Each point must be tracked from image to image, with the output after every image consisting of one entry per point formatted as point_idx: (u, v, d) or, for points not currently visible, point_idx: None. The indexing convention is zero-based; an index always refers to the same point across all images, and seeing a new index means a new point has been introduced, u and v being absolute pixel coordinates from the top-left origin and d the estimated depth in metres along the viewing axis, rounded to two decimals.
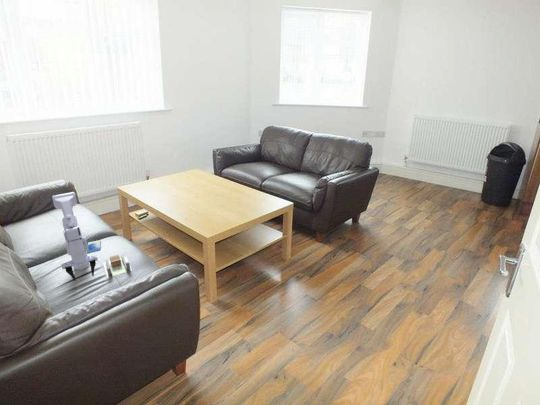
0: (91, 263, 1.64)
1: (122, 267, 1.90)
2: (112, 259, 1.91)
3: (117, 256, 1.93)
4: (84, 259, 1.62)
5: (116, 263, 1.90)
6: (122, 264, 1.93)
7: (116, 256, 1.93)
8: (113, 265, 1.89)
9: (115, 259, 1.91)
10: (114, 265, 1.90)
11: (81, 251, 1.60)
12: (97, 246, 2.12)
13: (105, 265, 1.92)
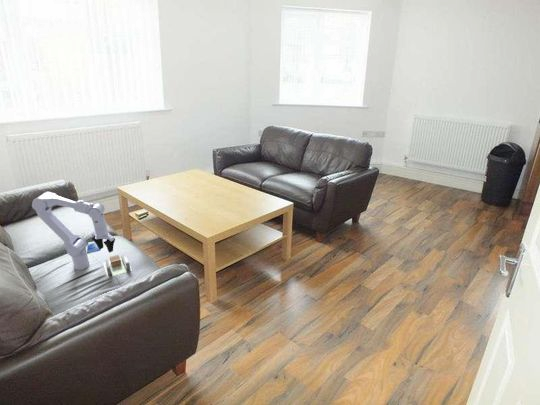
0: (105, 241, 1.82)
1: (122, 267, 1.90)
2: (112, 259, 1.91)
3: (117, 256, 1.93)
4: (101, 235, 1.82)
5: (116, 263, 1.90)
6: (122, 264, 1.93)
7: (116, 256, 1.93)
8: (113, 265, 1.89)
9: (115, 259, 1.91)
10: (114, 265, 1.90)
11: None
12: (97, 246, 2.12)
13: (105, 265, 1.92)
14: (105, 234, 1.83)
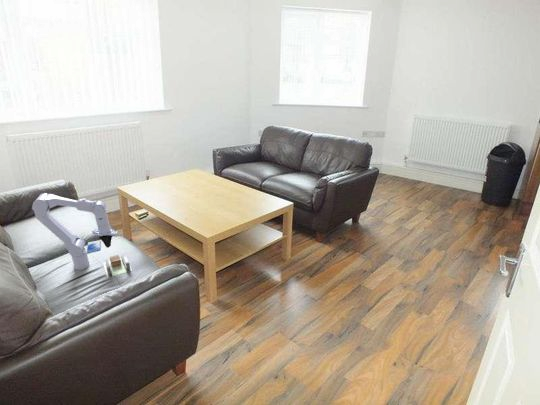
0: (104, 236, 1.87)
1: (122, 267, 1.90)
2: (112, 259, 1.91)
3: (117, 256, 1.93)
4: (105, 232, 1.86)
5: (116, 263, 1.90)
6: (122, 264, 1.93)
7: (116, 256, 1.93)
8: (113, 265, 1.89)
9: (115, 259, 1.91)
10: (114, 265, 1.90)
11: None
12: (97, 246, 2.12)
13: (105, 265, 1.92)
14: (109, 230, 1.87)
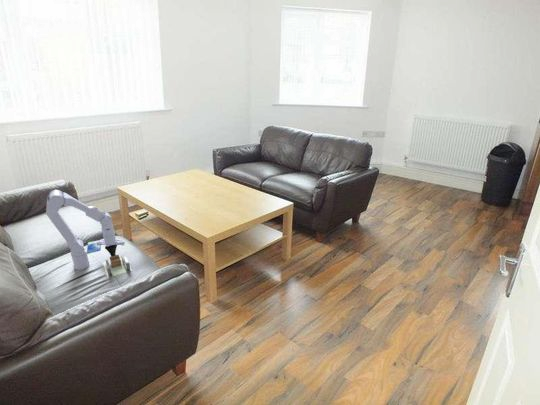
0: (111, 246, 1.94)
1: (122, 267, 1.90)
2: (112, 259, 1.91)
3: (117, 256, 1.93)
4: (112, 241, 1.93)
5: (116, 263, 1.90)
6: (122, 264, 1.93)
7: (116, 256, 1.93)
8: (113, 265, 1.89)
9: (115, 259, 1.91)
10: (114, 265, 1.90)
11: None
12: (97, 246, 2.12)
13: (105, 265, 1.92)
14: (115, 240, 1.95)
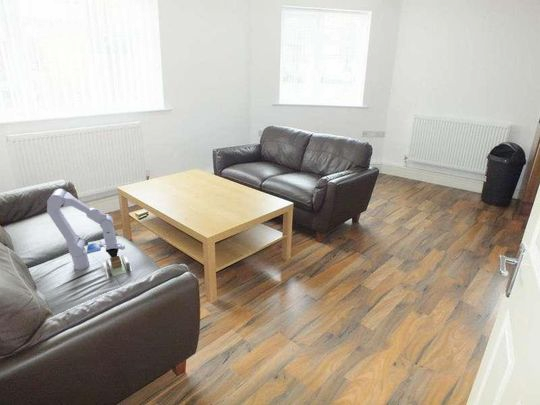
0: (111, 249, 1.91)
1: (122, 267, 1.90)
2: (112, 260, 1.90)
3: (117, 257, 1.92)
4: (112, 245, 1.90)
5: (116, 264, 1.89)
6: (122, 264, 1.93)
7: (116, 257, 1.92)
8: (113, 266, 1.88)
9: (115, 260, 1.90)
10: (114, 266, 1.89)
11: None
12: (97, 246, 2.12)
13: (105, 265, 1.92)
14: (115, 244, 1.91)
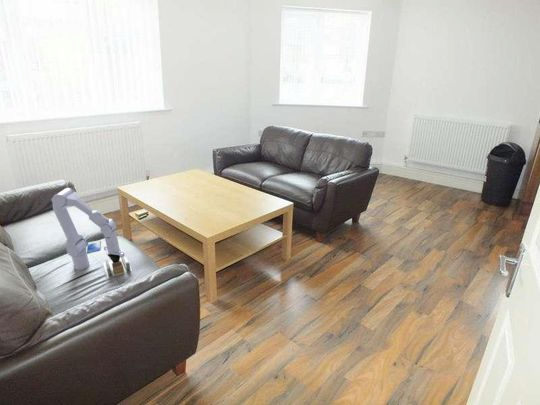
0: (112, 255, 1.86)
1: None
2: (114, 266, 1.85)
3: (120, 263, 1.87)
4: (112, 251, 1.84)
5: (119, 270, 1.84)
6: (122, 264, 1.93)
7: (118, 263, 1.87)
8: (115, 272, 1.83)
9: (118, 266, 1.85)
10: (116, 272, 1.84)
11: (117, 239, 1.86)
12: (97, 246, 2.12)
13: (105, 265, 1.92)
14: (116, 250, 1.85)
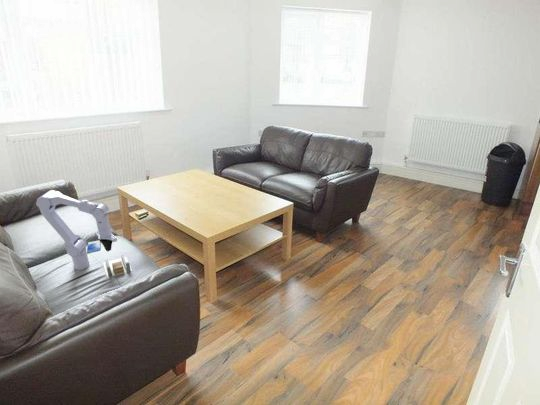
0: (104, 240, 1.84)
1: None
2: (114, 266, 1.85)
3: (120, 263, 1.87)
4: (104, 235, 1.82)
5: (119, 270, 1.84)
6: (122, 264, 1.93)
7: (118, 263, 1.87)
8: (115, 272, 1.84)
9: (117, 266, 1.85)
10: (116, 272, 1.84)
11: None
12: (97, 246, 2.12)
13: (105, 265, 1.92)
14: (108, 234, 1.83)
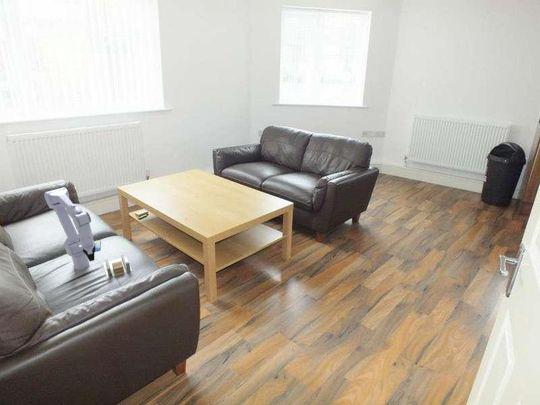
0: (84, 249, 1.75)
1: None
2: (114, 266, 1.85)
3: (120, 263, 1.87)
4: (83, 245, 1.73)
5: (119, 270, 1.84)
6: (122, 264, 1.93)
7: (118, 263, 1.87)
8: (115, 272, 1.84)
9: (117, 266, 1.85)
10: (116, 272, 1.84)
11: (91, 234, 1.74)
12: (97, 246, 2.12)
13: (105, 265, 1.92)
14: (87, 245, 1.73)
